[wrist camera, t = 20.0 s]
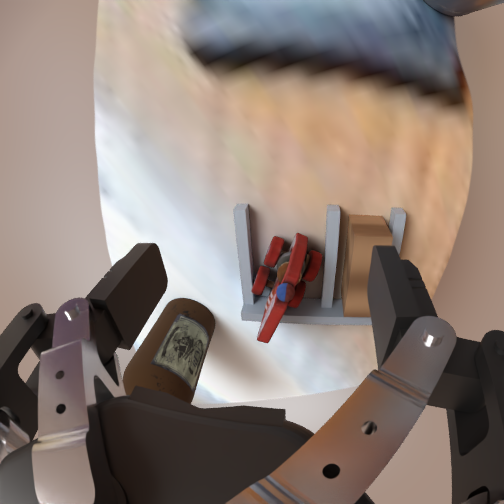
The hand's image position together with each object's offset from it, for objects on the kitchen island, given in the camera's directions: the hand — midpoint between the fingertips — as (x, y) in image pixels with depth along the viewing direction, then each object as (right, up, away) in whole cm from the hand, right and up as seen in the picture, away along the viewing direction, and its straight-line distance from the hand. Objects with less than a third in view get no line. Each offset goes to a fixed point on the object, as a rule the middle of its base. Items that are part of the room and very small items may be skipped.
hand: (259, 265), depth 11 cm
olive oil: (-11, -11, +40) cm, 43 cm away
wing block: (+15, 0, +28) cm, 32 cm away
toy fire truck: (+5, -1, +31) cm, 32 cm away
